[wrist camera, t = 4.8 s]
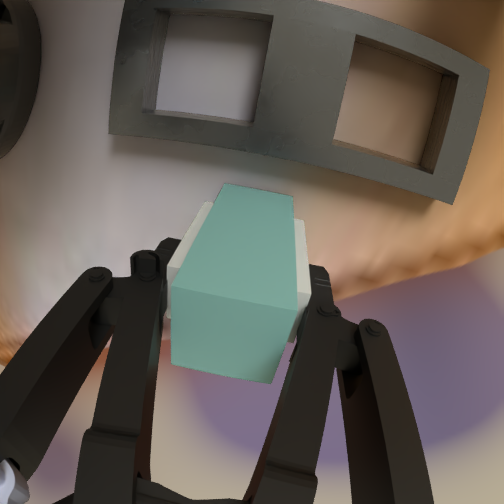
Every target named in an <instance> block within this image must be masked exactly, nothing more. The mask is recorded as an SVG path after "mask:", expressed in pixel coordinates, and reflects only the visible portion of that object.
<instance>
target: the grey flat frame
mask: <svg viewBox="0 0 504 504" xmlns="http://www.w3.org/2000/svg"><path fill="white" fill-rule="evenodd" d="M170 14H179V15H208V16H223V17H234V18H243V19H252V20H259V21H266V22H273V24H272V29H271V34H270V39H269V44H268V49H267V54H266V60H265V65H264V70H263V75H262V81H261V86H260V92H259V97H258V102H257V108H256V113H255V119H254V122H248V121H242V120H236V119H230V118H223V117H216V116H209V115H201V114H193V113H184V112H174V111H164V110H155V109H156V100H157V91H158V83H159V76H160V69H161V62H162V55H163V49H164V43H165V37H166V31H167V26H168V20H169V15H170ZM354 41H356V42H360V43H363V44H366V45H369V46H372V47H375V48H378V49H381V50H384V51H387V52H390V53H393V54H395V55H398V56H401V57H403V58H406V59H408V60H411V61H413V62H416V63H418V64H421V65H423V66H425V67H428V68H430V69H432V70H435V71H437V72H439V73H441V74H443V78H442V83H441V87H440V92H439V96H438V100H437V105H436V109H435V113H434V117H433V121H432V125H431V128H430V132H429V136H428V139H427V143H426V146H425V150H424V153H423V156H422V160H421V163H420V165H417V164H414V163H411V162H408V161H405V160H402V159H399V158H396V157H393V156H390V155H387V154H383V153H380V152H377V151H374V150H370V149H367V148H363V147H360V146H356V145H352V144H349V143H345V142H341V141H337V140H333V137H334V133H335V129H336V124H337V120H338V116H339V111H340V107H341V103H342V98H343V94H344V89H345V85H346V80H347V75H348V71H349V66H350V61H351V56H352V51H353V46H354ZM489 72H490V70H489V69H488V68H486V67H484V66H483V65H481V64H479V63H478V62H476V61H474V60H472V59H470V58H469V57H467V56H465V55H463V54H461V53H459V52H457V51H455V50H453V49H452V48H450V47H448V46H445V45H443V44H441V43H439V42H437V41H435V40H433V39H431V38H428V37H426V36H424V35H422V34H419V33H417V32H415V31H412V30H410V29H407V28H405V27H402V26H400V25H397V24H394V23H392V22H389V21H386V20H383V19H380V18H377V17H374V16H371V15H368V14H365V13H362V12H359V11H355V10H352V9H348V8H345V7H341V6H337V5H333V4H329V3H325V2H321V1H317V0H125V3H124V8H123V13H122V19H121V24H120V30H119V36H118V42H117V49H116V56H115V63H114V72H113V81H112V91H111V102H110V116H109V133H108V134H116V135H128V136H138V137H148V138H157V139H166V140H174V141H182V142H189V143H196V144H203V145H210V146H216V147H223V148H229V149H235V150H240V151H246V152H252V153H257V154H262V155H267V156H272V157H277V158H282V159H287V160H292V161H297V162H301V163H306V164H310V165H314V166H319V167H323V168H327V169H331V170H335V171H339V172H343V173H347V174H351V175H355V176H359V177H363V178H366V179H370V180H374V181H377V182H381V183H384V184H388V185H391V186H395V187H398V188H401V189H405V190H408V191H411V192H414V193H417V194H421V195H424V196H427V197H430V198H433V199H436V200H439V201H442V202H445V203H448V204H451V205H453V202H454V200H455V197H456V194H457V192H458V189H459V186H460V183H461V180H462V177H463V174H464V171H465V168H466V165H467V162H468V159H469V155H470V152H471V149H472V145H473V142H474V138H475V135H476V131H477V127H478V123H479V119H480V115H481V111H482V107H483V102H484V98H485V93H486V88H487V83H488V78H489Z"/></svg>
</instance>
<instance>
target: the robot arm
mask: <svg viewBox="0 0 504 504" xmlns="http://www.w3.org/2000/svg"><path fill="white" fill-rule="evenodd" d="M40 60H41V42H40V32H39V26H38V22H37V18H36V15H35V13H34V10H33V9H32V7H31V5H30V4H29V2H28V1H27V0H0V158H1V157H3V156H4V155H5V154H6V153H8V152H9V150H10V149H11V148H12V147H13V146H14V144H15V143H16V142H17V140H18V138H19V137H20V135H21V133H22V131H23V129H24V127H25V125H26V123H27V120H28V118H29V115H30V112H31V109H32V106H33V102H34V98H35V94H36V90H37V85H38V79H39V71H40ZM213 204H214V203H212V202H207V201H205V202H204V204H203V206H202V207H201V209H200V211H199V212H198V214H197V215H196V217H195V219H194V220H193V222H192V224H191V225H190V227H189V229H188V230H187V232H186V234H185V235H184V237H183V239H182V240H179V239H174V238H169V237H168V238H166V239H165V240H163V241H161V242H160V244H159V245H158V247H157V249H156V250H155V251H152V250H141V251H137V252H135V253H134V254H132V256H131V257H130V263H131V276H130V277H112V272H111V271H110V270H109V269H107V268H105V267H92V268H90V269H87V270H86V271H85V272H84V273H83V274H82V275H81V276H80V277H79V278H78V279H77V280H76V281H75V282H74V284H73V285H72V286H71V287H70V288H69V289H68V290H67V291H66V293H65V294H64V295H63V296H62V297H61V298H60V299H59V301H58V302H57V303H56V304H55V305H54V306H53V308H52V309H51V310H50V311H49V312H48V314H47V315H46V316H45V317H44V318H43V320H42V321H41V322H40V323H39V325H38V326H37V327H36V328H35V329H34V331H33V332H32V333H31V334H30V336H29V337H28V338H27V340H26V341H25V342H24V343H23V345H22V346H21V347H20V349H19V350H18V351H17V353H16V354H15V355H14V357H13V358H12V359H11V361H10V362H9V363H8V365H7V366H6V367H5V369H4V370H3V372H2V373H1V374H0V504H24V503H25V502H27V501H28V500H29V497H30V494H29V487H28V484H27V481H28V480H29V479H30V477H31V476H32V475H33V473H34V472H35V471H36V469H37V468H38V466H39V464H40V463H41V461H42V459H43V457H44V455H45V453H46V451H47V449H48V447H49V445H50V443H51V441H52V439H53V437H54V435H55V434H56V432H57V430H58V428H59V426H60V424H61V422H62V420H63V418H64V417H65V415H66V413H67V411H68V409H69V407H70V406H71V404H72V402H73V400H74V399H75V397H76V395H77V393H78V391H79V390H80V388H81V386H82V384H83V383H84V381H85V379H86V377H87V376H88V374H89V372H90V370H91V369H92V367H93V365H94V364H95V362H96V360H97V359H98V357H99V355H100V354H101V352H102V350H103V349H104V347H105V346H106V344H107V342H108V341H109V339H110V337H111V336H112V334H113V336H112V340H111V344H110V348H109V352H108V355H107V359H106V363H105V367H104V371H103V376H102V380H101V384H100V388H99V393H98V398H97V403H96V408H95V412H94V417H93V422H92V426H91V427H90V429H87V430H86V431H85V433H84V435H83V439H82V444H81V450H80V456H79V462H78V468H77V475H76V482H75V490H74V493H73V494H71V495H69V496H67V497H65V498H63V499H61V500H59V501H57V502H55V503H53V504H313V502H314V498H315V494H316V490H317V483H318V479H317V477H316V475H315V469H316V464H317V460H318V456H319V451H320V446H321V442H322V436H323V431H324V427H325V422H326V416H327V411H328V405H329V399H330V393H331V388H332V382H333V375H334V369H335V368H337V377H338V384H339V391H340V398H341V405H342V412H343V420H344V428H345V435H346V445H347V454H348V462H349V473H350V484H351V495H352V504H434V501H433V495H432V490H431V484H430V480H429V475H428V470H427V466H426V461H425V457H424V452H423V448H422V444H421V440H420V436H419V432H418V428H417V424H416V420H415V417H414V413H413V409H412V406H411V402H410V399H409V396H408V392H407V389H406V385H405V382H404V379H403V375H402V372H401V370H400V366H399V363H398V360H397V357H396V354H395V351H394V348H393V345H392V342H391V339H390V336H389V333H388V331H387V329H386V327H385V326H384V325H383V324H382V323H380V322H378V321H376V320H373V319H364V320H362V321H361V322H360V323H359V325H358V324H355V323H352V322H350V321H348V320H346V319H344V318H343V317H341V312H340V310H339V309H338V307H336V306H335V305H334V301H333V295H332V290H331V284H330V278H329V274H328V272H327V271H326V270H325V268H324V267H321V266H316V265H311V264H308V254H307V245H306V236H305V227H304V220H300V219H295V218H294V228H295V248H296V271H297V299H298V312H297V315H296V318H295V320H294V323H293V326H292V329H291V332H290V335H289V337H288V340H287V342H291V343H293V342H294V340H295V337H296V335H297V343H296V345H295V348H294V350H293V353H292V355H291V358H290V360H289V361H290V364H289V367H288V371H287V374H286V377H285V380H284V384H283V387H282V390H281V393H280V397H279V400H278V403H277V406H276V409H275V413H274V415H273V418H272V421H271V424H270V427H269V430H268V434H267V436H266V439H265V443H264V445H263V448H262V451H261V454H260V457H259V459H258V462H257V465H256V468H255V471H254V473H253V476H252V479H251V481H250V484H249V486H248V489H247V491H246V493H245V495H244V497H243V500H236V499H230V498H229V499H210V500H192V499H189V498H186V497H184V496H182V495H180V494H178V493H176V492H174V491H172V490H170V489H168V488H166V487H164V486H162V485H160V484H158V483H155V482H151V474H150V454H151V438H152V436H151V435H152V423H153V411H154V400H155V390H156V380H157V371H158V362H159V354H160V346H161V338H162V331H163V316H164V314H165V312H166V309H167V318H169V319H171V285H172V283H173V281H174V279H175V277H176V275H177V273H178V271H179V269H180V267H181V265H182V263H183V261H184V259H185V257H186V255H187V253H188V251H189V249H190V247H191V246H192V244H193V242H194V240H195V238H196V236H197V234H198V232H199V230H200V228H201V226H202V225H203V223H204V221H205V219H206V217H207V215H208V213H209V212H210V210H211V208H212V206H213Z"/></svg>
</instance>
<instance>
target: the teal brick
mask: <svg viewBox="0 0 504 504" xmlns="http://www.w3.org/2000/svg"><path fill="white" fill-rule="evenodd" d="M297 312H298V299H297V271H296V248H295V228H294V210H293V196H289V195H284V194H279V193H274V192H269V191H264V190H259V189H254V188H248V187H243V186H238V185H232V184H227V183H225V184H224V186H223V188H222V190H221V191H220V193H219V195H218V197H217V199H216V200H215V202H214V204H213V206H212V208H211V210H210V212H209V213H208V215H207V217H206V219H205V221H204V223H203V225H202V226H201V228H200V230H199V232H198V234H197V236H196V238H195V240H194V242H193V244H192V246H191V247H190V249H189V251H188V253H187V255H186V257H185V259H184V261H183V263H182V265H181V267H180V269H179V271H178V273H177V275H176V277H175V279H174V281H173V283H172V285H171V364H173V365H177V366H181V367H185V368H190V369H194V370H198V371H203V372H208V373H213V374H217V375H222V376H227V377H232V378H238V379H244V380H249V381H255V382H261V383H268V384H271V383H272V380H273V378H274V375H275V372H276V370H277V367H278V365H279V362H280V359H281V356H282V354H283V351H284V348H285V346H286V343H287V340H288V337H289V335H290V332H291V329H292V326H293V323H294V320H295V318H296V315H297Z"/></svg>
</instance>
